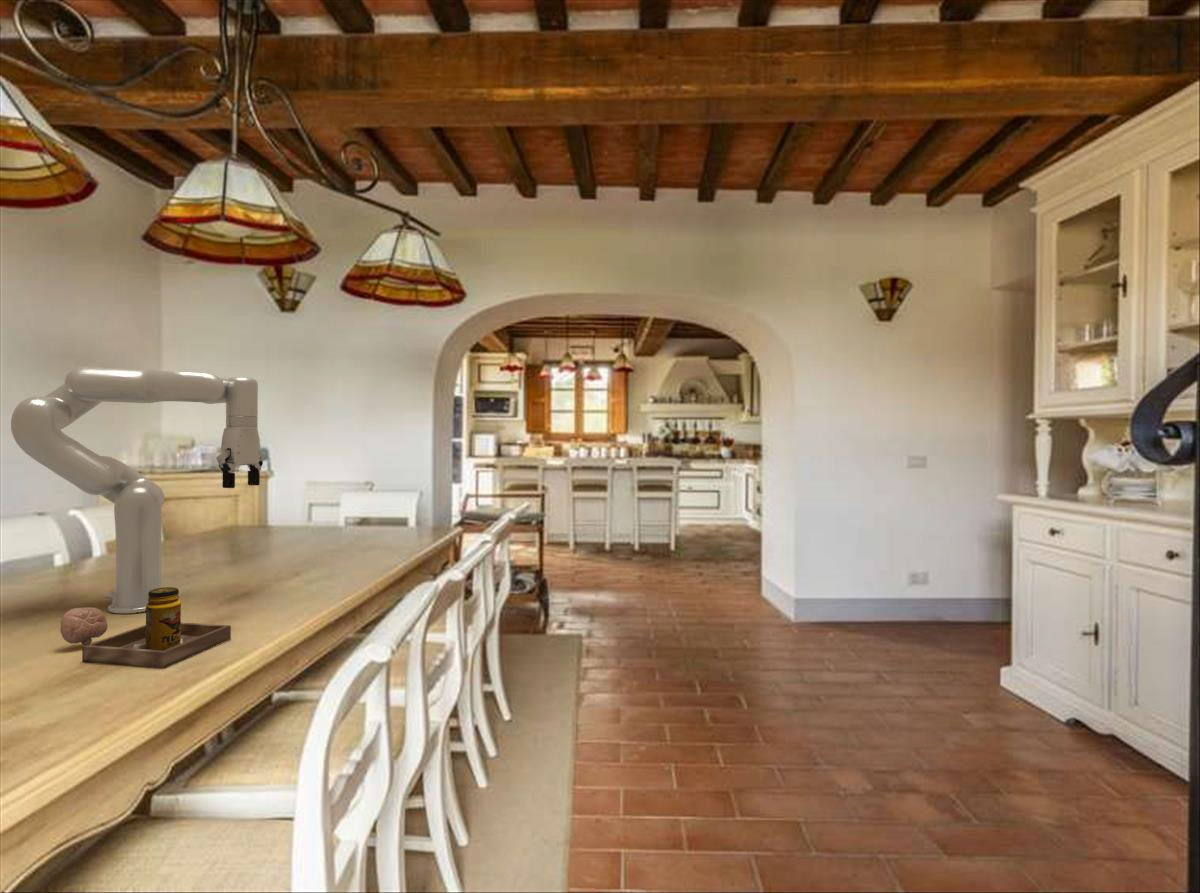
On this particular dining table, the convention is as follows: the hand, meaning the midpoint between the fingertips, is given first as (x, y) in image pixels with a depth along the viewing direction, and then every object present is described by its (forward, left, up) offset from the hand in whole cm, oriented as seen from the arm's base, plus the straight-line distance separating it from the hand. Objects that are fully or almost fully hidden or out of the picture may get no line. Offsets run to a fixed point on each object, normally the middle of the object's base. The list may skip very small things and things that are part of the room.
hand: (241, 486), depth 178 cm
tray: (+13, -41, -30) cm, 53 cm away
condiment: (+13, -41, -30) cm, 53 cm away
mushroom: (-4, -42, -31) cm, 52 cm away
